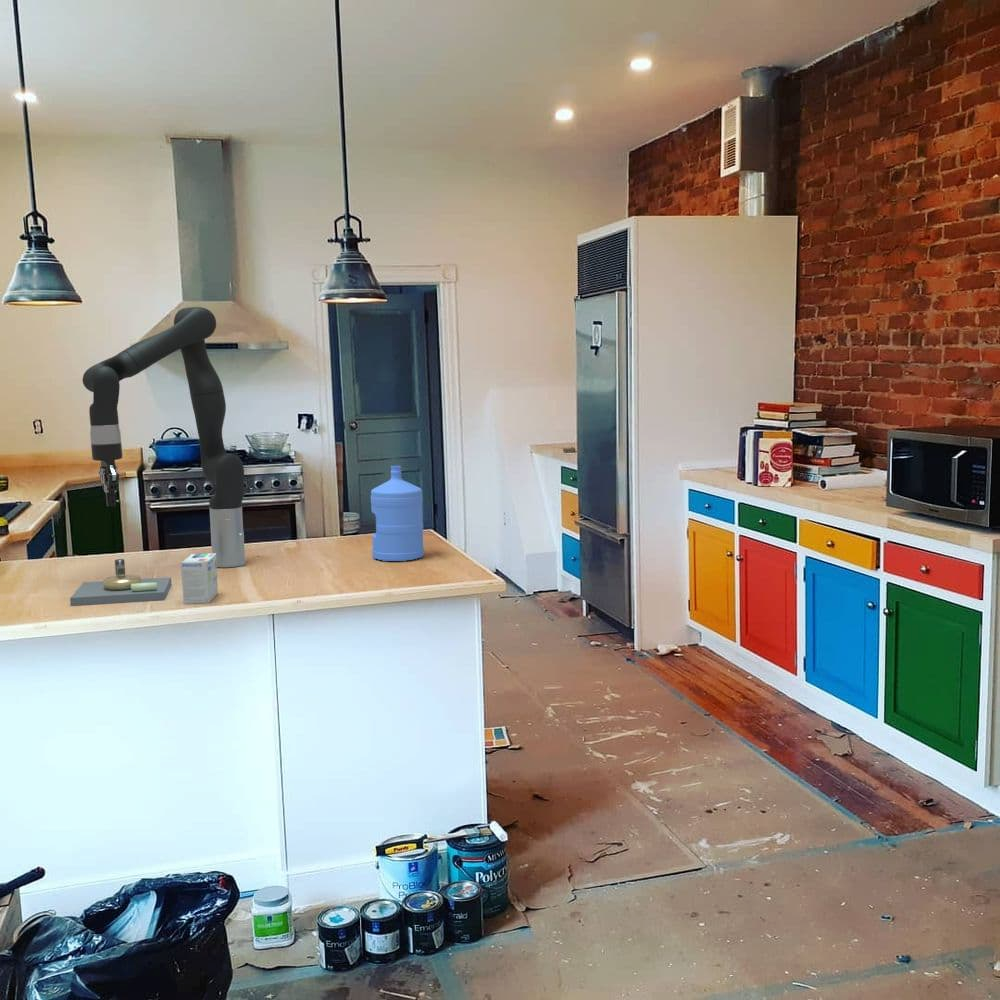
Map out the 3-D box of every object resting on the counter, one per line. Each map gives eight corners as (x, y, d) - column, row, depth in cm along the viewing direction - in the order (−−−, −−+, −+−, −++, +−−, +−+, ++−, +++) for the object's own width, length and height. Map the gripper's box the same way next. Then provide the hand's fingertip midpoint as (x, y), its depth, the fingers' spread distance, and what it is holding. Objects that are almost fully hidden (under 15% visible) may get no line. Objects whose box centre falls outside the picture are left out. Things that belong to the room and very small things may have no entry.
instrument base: (171, 584, 261) (170, 570, 260) (164, 599, 244) (163, 584, 243) (84, 589, 256) (83, 575, 256) (70, 605, 239) (69, 590, 238)
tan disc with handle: (142, 587, 247) (141, 569, 247) (104, 591, 244) (103, 573, 243) (138, 574, 263) (137, 557, 263) (102, 577, 260) (101, 560, 259)
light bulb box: (192, 594, 250) (190, 553, 248) (219, 593, 250) (216, 552, 249) (182, 604, 239) (180, 561, 238) (210, 603, 240) (208, 560, 238)
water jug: (434, 555, 297) (432, 464, 293) (402, 564, 284) (400, 469, 280) (394, 550, 305) (391, 462, 301) (361, 559, 292) (358, 467, 288)
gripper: (126, 442, 254) (132, 507, 257) (114, 439, 265) (120, 501, 267) (96, 444, 250) (102, 510, 252) (85, 441, 261) (91, 504, 263)
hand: (111, 506), depth 260 cm, fingers closed
